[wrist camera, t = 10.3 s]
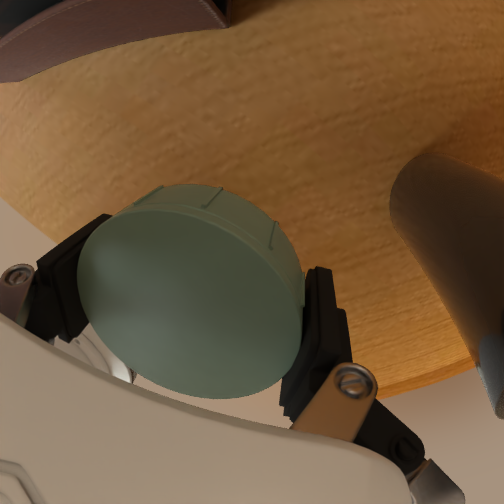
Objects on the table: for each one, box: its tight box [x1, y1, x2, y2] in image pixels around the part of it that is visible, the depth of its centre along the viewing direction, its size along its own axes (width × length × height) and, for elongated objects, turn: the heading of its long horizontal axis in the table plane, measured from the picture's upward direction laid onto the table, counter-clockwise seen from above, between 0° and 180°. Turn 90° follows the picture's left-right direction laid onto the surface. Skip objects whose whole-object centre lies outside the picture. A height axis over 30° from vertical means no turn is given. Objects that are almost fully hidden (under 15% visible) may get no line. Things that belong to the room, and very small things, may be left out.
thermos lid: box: [77, 184, 305, 399], centre depth 9 cm, size 7×7×2 cm
